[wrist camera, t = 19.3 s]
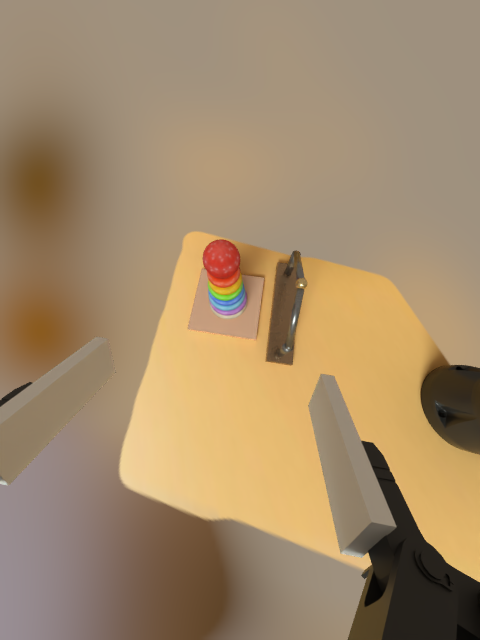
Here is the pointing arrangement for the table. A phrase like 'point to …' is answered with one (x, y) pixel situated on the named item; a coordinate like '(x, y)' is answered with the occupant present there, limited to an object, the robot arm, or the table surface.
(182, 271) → the table surface
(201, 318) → the terracotta pad
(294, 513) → the table surface
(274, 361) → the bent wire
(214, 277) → the stacking toy
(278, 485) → the table surface
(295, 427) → the table surface
